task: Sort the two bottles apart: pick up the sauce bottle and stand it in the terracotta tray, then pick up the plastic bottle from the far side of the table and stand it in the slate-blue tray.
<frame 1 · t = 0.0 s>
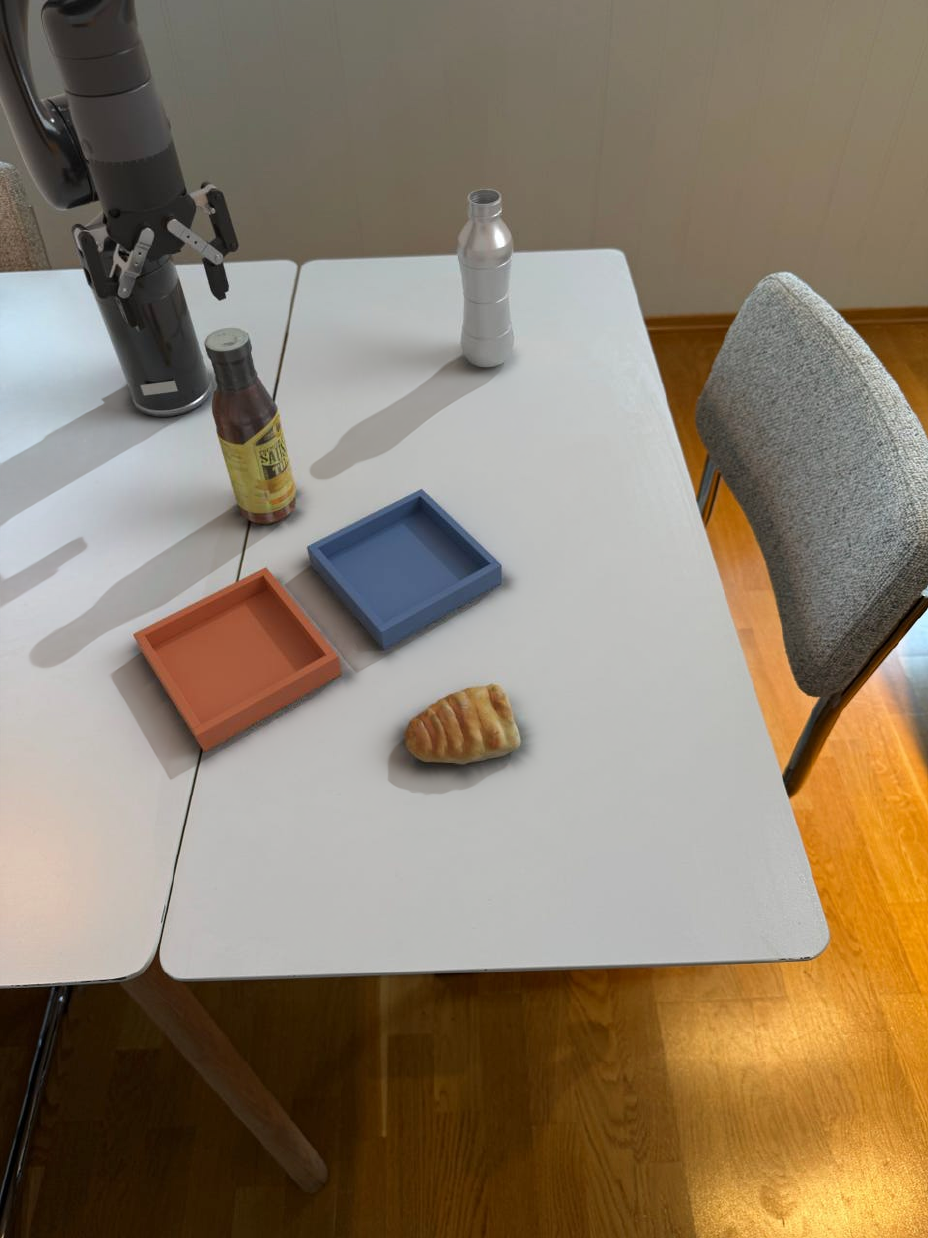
hand: (179, 311, 88), 17 cm above the table, tool pointing down, fingers open, 8 cm apart
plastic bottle: (487, 359, 111), on the table
sauce bottle: (270, 507, 95), on the table
pastry: (469, 737, 76), on the table
terracotta tray: (240, 662, 82), on the table
blue tray: (405, 573, 88), on the table
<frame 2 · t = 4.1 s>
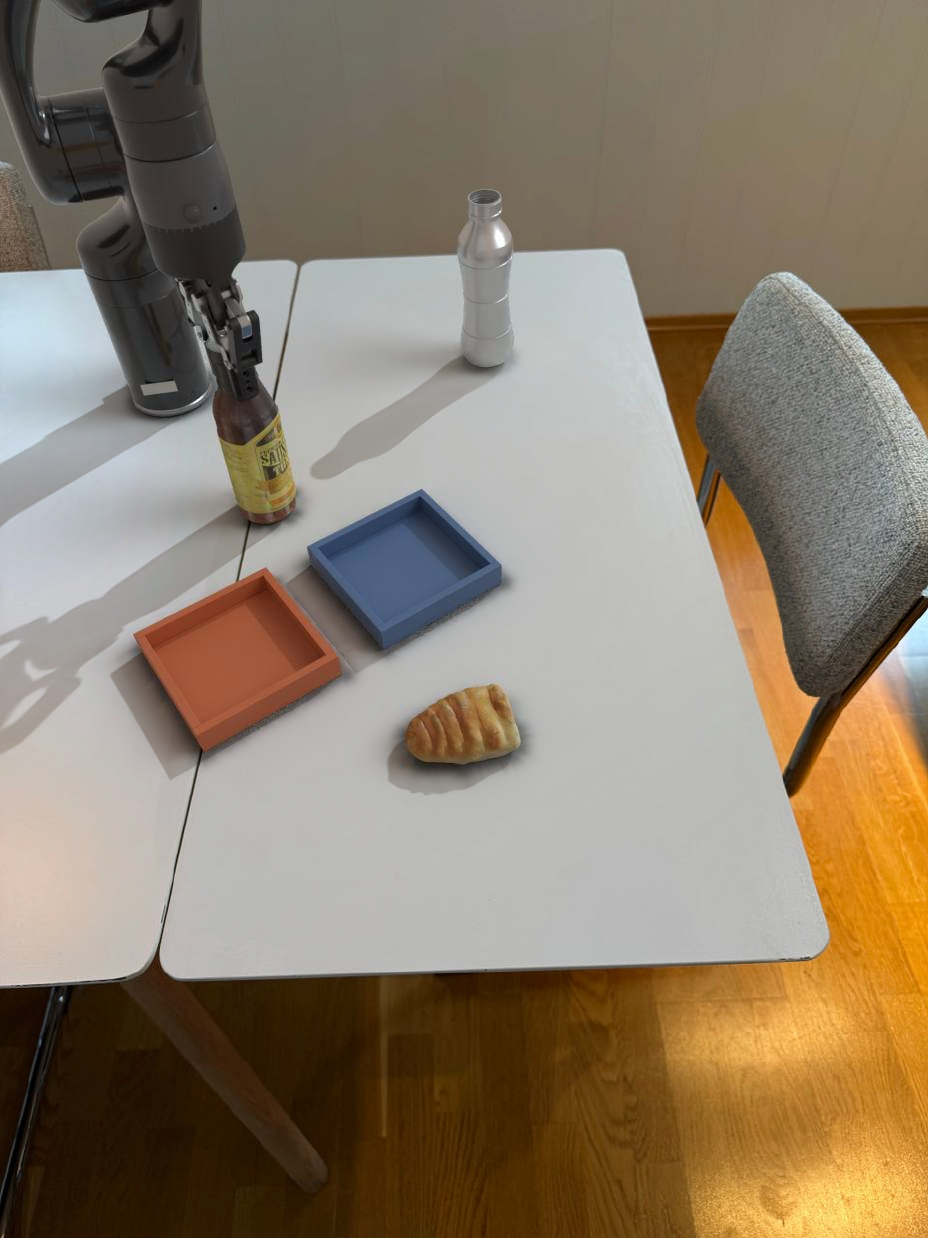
hand: (236, 384, 84), 15 cm above the table, tool pointing down, fingers closed on sauce bottle, 4 cm apart
sauce bottle: (270, 506, 95), on the table, touching gripper
everything else where it was.
when the fingers open (16 cm above the table, at t = 11.8 s): sauce bottle stays where it is, resting on terracotta tray.
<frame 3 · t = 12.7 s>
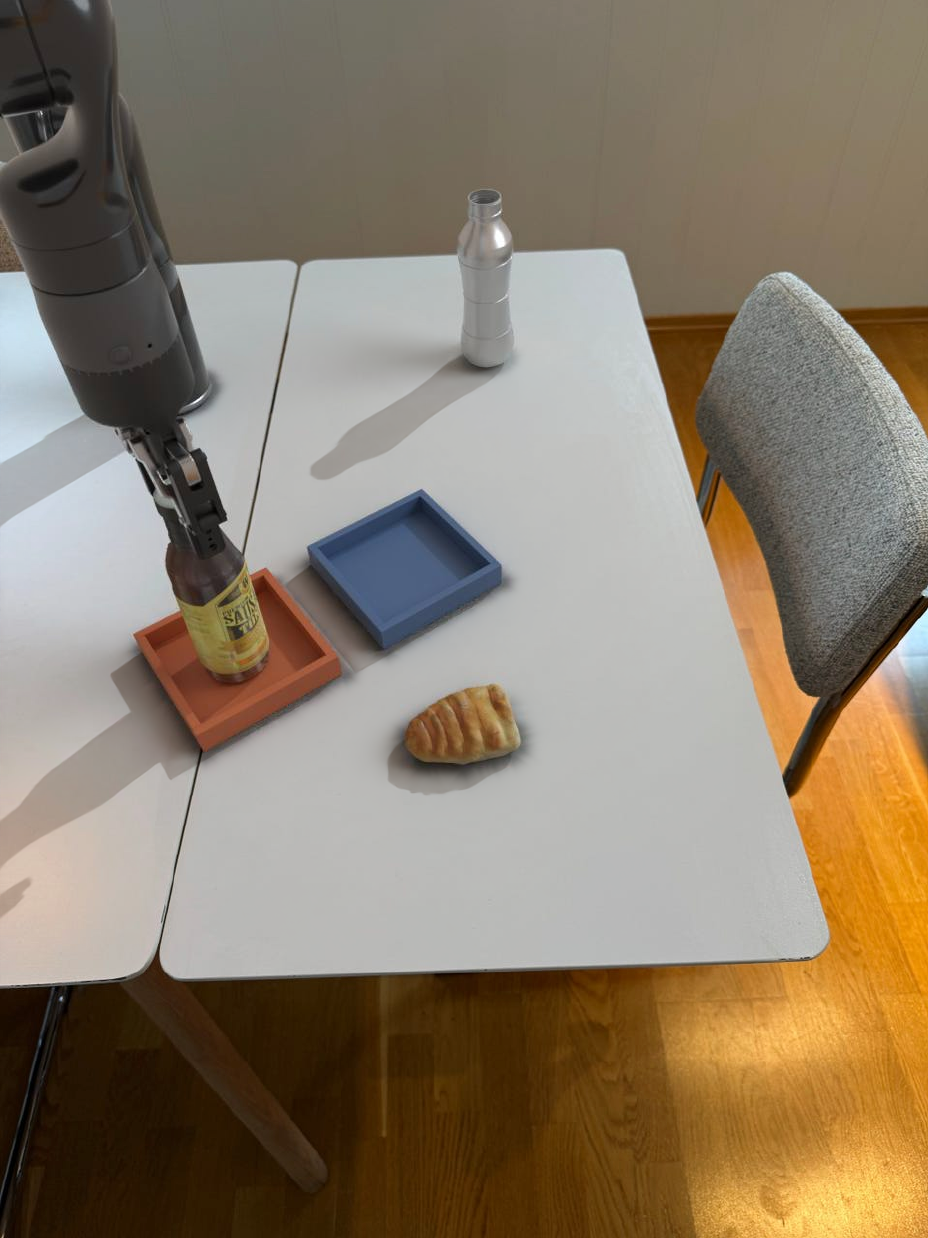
hand: (187, 521, 68), 18 cm above the table, tool pointing down, fingers open, 8 cm apart
sauce bottle: (239, 659, 82), resting on terracotta tray
everything else where it was.
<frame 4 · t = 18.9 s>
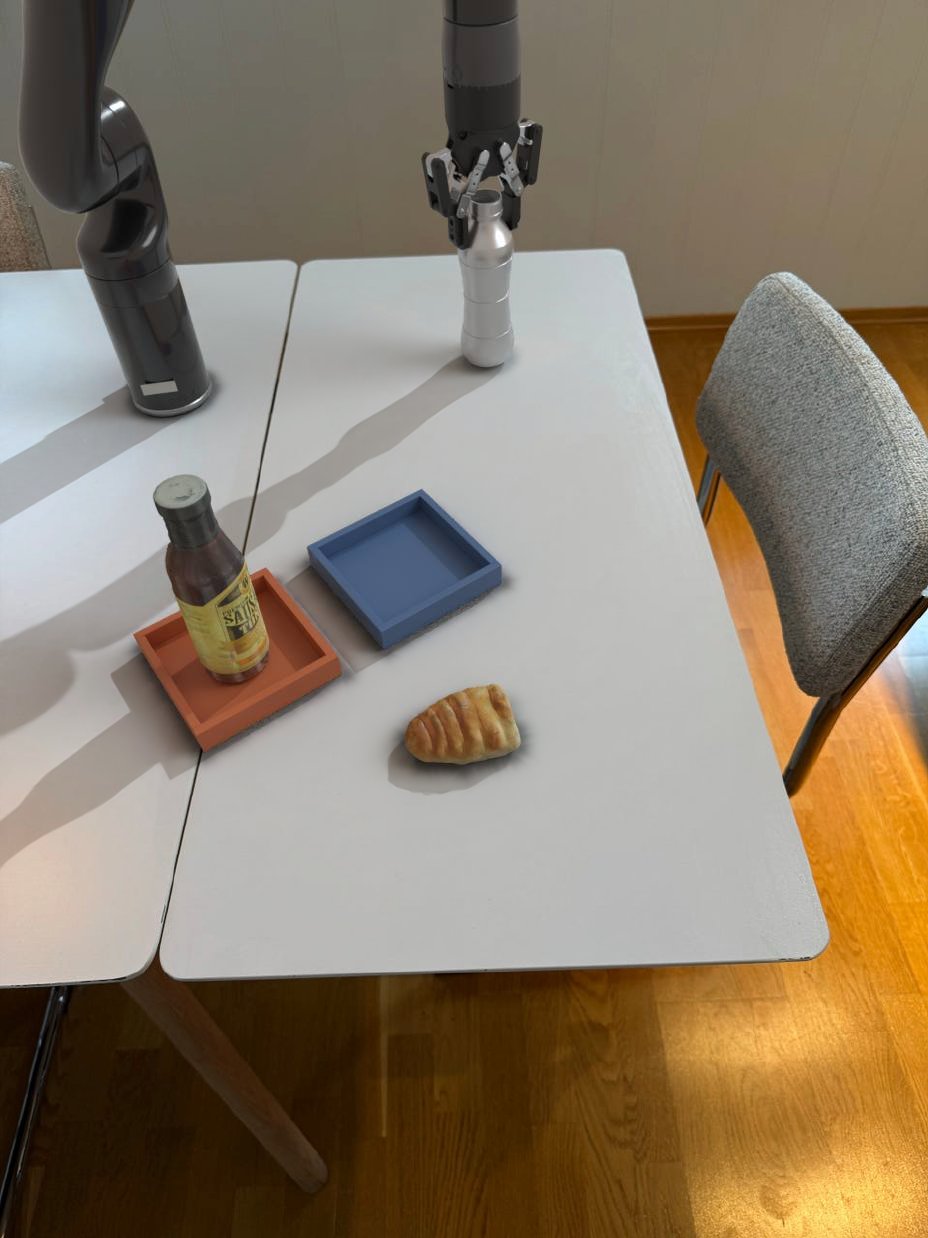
hand: (485, 236, 99), 16 cm above the table, tool pointing down, fingers closed on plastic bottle, 6 cm apart
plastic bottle: (487, 359, 111), on the table, touching gripper
everything else where it was.
when the fingers open (16 cm above the table, at t = 28.1 s): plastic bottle stays where it is, resting on blue tray.
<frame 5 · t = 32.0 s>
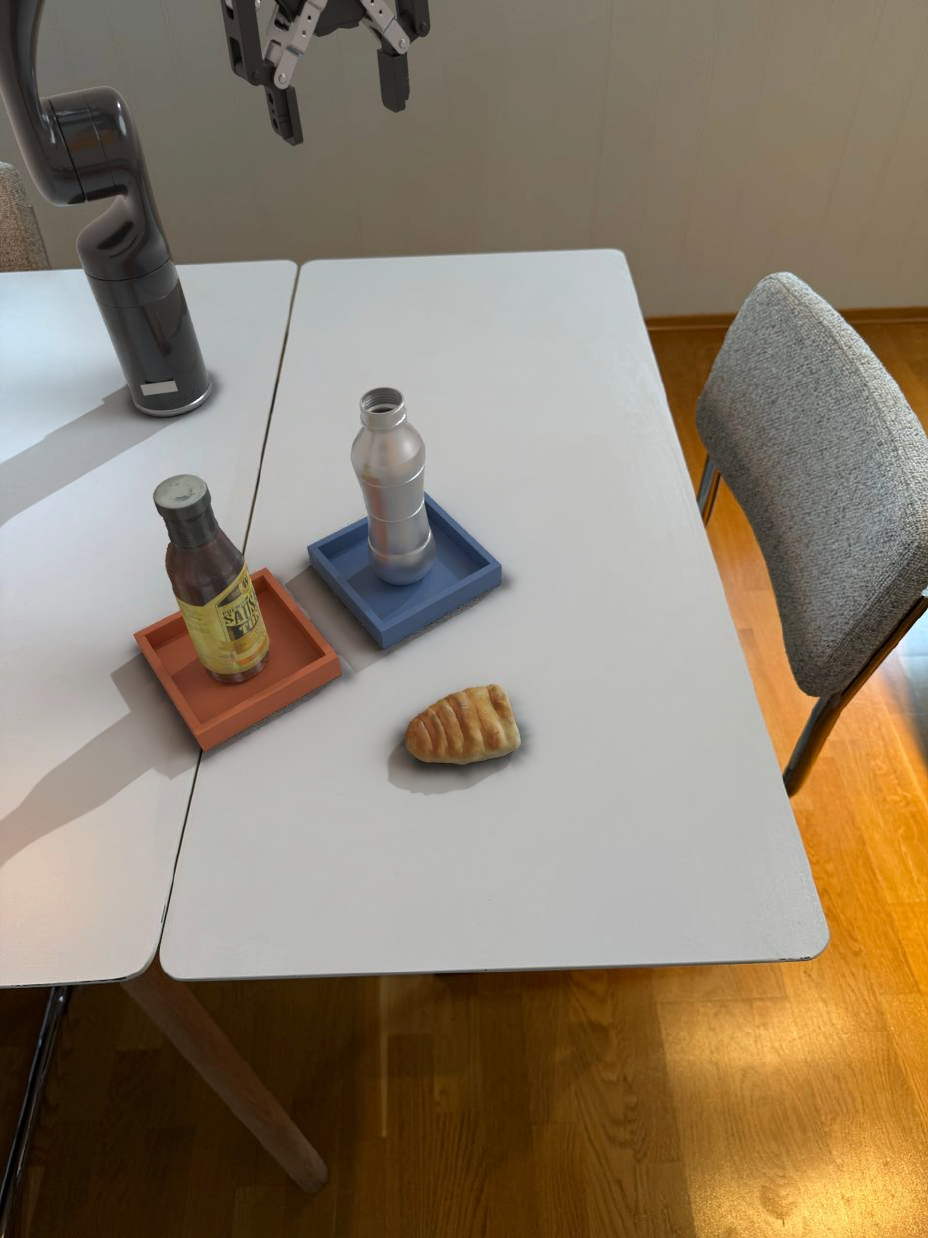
hand: (344, 124, 65), 38 cm above the table, tool pointing down, fingers open, 8 cm apart
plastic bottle: (404, 570, 88), resting on blue tray
everything else where it was.
at the end: sauce bottle inside the target area in the terracotta tray (0.0 cm from its centre), point 0.4 cm above the terracotta tray's base; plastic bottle inside the target area in the blue tray (0.1 cm from its centre), point 0.4 cm above the blue tray's base; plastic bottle tilted 0° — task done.
